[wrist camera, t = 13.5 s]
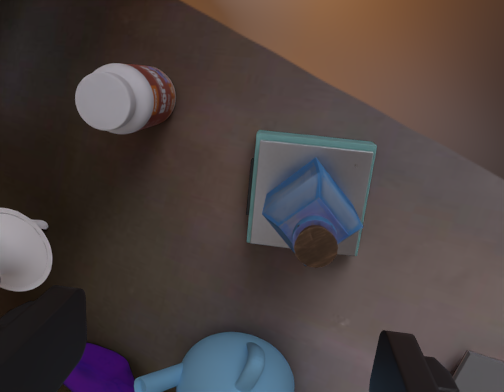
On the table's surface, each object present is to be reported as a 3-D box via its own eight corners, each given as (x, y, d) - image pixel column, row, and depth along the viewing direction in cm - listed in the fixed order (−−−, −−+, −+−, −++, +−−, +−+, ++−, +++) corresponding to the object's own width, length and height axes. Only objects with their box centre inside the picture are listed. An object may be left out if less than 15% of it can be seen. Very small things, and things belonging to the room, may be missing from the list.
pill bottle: (187, 111, 43) (153, 123, 33) (137, 133, 45) (89, 152, 34) (161, 55, 42) (116, 48, 31) (110, 80, 43) (51, 81, 33)
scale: (255, 129, 43) (252, 133, 40) (372, 141, 42) (378, 146, 39) (245, 233, 47) (242, 244, 44) (353, 246, 46) (358, 259, 43)
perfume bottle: (303, 239, 42) (307, 300, 31) (266, 194, 41) (256, 239, 30) (353, 205, 41) (376, 256, 29) (315, 157, 40) (325, 190, 28)
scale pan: (260, 139, 40) (260, 140, 40) (372, 151, 40) (373, 152, 39) (250, 241, 44) (250, 243, 43) (354, 253, 43) (355, 256, 42)
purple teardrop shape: (24, 338, 49) (133, 393, 48) (51, 316, 54) (151, 367, 53) (16, 367, 51) (122, 422, 50) (43, 344, 55) (140, 394, 54)
